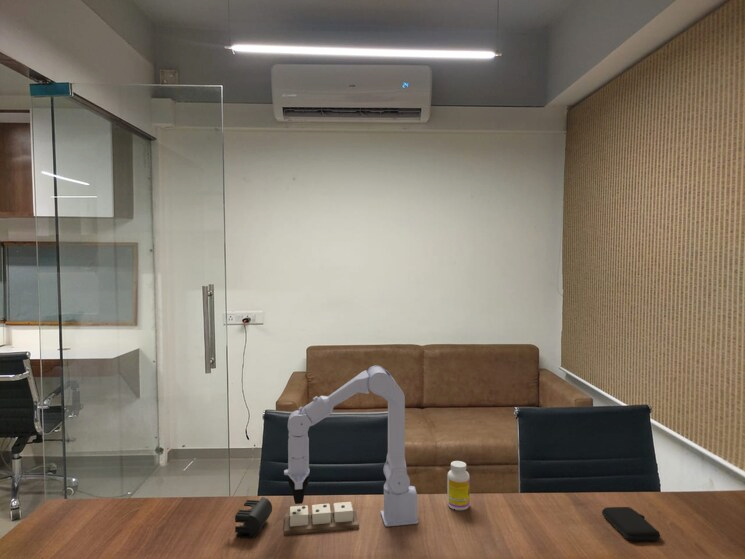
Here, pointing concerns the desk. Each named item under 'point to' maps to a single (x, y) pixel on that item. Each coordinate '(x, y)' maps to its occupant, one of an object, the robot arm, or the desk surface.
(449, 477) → the supplement bottle
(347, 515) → the tile one
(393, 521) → the robot arm
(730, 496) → the desk surface
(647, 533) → the black rounded phone case
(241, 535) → the end cap
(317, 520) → the tile two
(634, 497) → the desk surface
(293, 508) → the tile three
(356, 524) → the tile tray
